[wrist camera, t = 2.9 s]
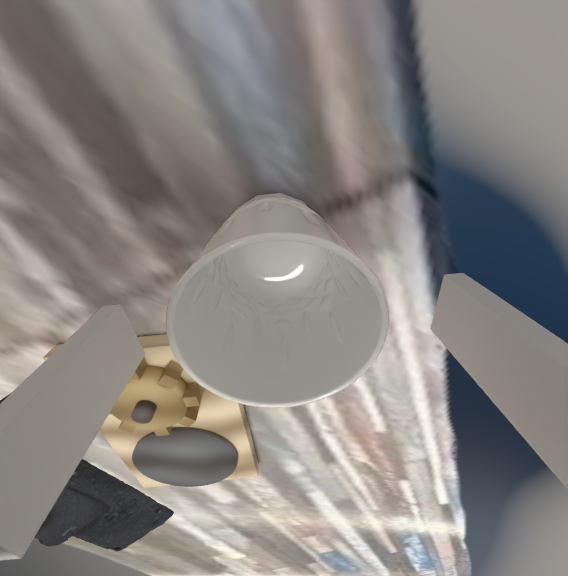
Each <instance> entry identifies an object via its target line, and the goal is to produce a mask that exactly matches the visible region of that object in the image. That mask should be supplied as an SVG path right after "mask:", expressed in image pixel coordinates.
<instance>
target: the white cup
mask: <svg viewBox="0 0 568 576" xmlns="http://www.w3.org/2000/svg"><path fill="white" fill-rule="evenodd" d="M388 326H389V309H388V303H387V299H386V296H385V293H384V290H383V288H382V286H381V284H380V282H379V280H378V279H377V277H376V276H375V274H374V273H373V272H372V271H371V269H370V268H369V267H368V266H367V265H366V264H365V263H364V262H363V261H362V260H361V259H360V258H359V256H358V255H357V254H356V253H355V252H354V251H353V250H352V249H351V248H350V247H349V246H348V245H347V244H346V243H345V241H344V240H343V239H342V238H341V237H340V236H339V235H338V234H337V233H336V232H335V231H334V230H333V229H332V228H331V227H330V225H329V224H328V223H327V222H326V221H325V220H323V219H322V218H321V217H320V216H319V215H318V214H317V213H316V212H314V211H313V210H312V209H310V208H309V207H308V206H307V205H306V204H305V203H304V202H303V201H301V200H298V199H296V198H293V197H290V196H288V195H285V194H282V193H274V194H265V195H257V196H255V197H254V198H252V199H251V200H249V201H247V202H246V203H244V204H243V205H241V206H240V207H238V208H237V209H236V211H235V212H234V213H233V214H232V215H231V216H230V217H229V218H228V219H227V220H226V221H225V222H224V224H223V225H222V226H221V227H220V228H219V229H218V230H217V232H216V233H215V234H214V235H213V237H212V238H211V239H210V241H209V242H208V243H207V245H206V246H205V247H204V249H203V250H202V251H201V253H200V254H199V255H198V257H197V258H196V259H195V261H194V262H193V263H192V264H191V266H190V267H189V268H188V270H187V271H186V272H185V273H184V275H183V276H182V277H181V279H180V280H179V282H178V283H177V285H176V287H175V289H174V291H173V293H172V295H171V298H170V300H169V304H168V308H167V314H166V332H167V337H168V341H169V345H170V347H171V350H172V352H173V354H174V356H175V358H176V360H177V361H178V363H179V364H180V366H181V367H182V368H183V370H184V371H185V372H186V373H187V374H188V375H189V376H190V377H191V378H192V379H193V380H194V381H196V382H197V383H198V384H199V385H201V386H202V387H204V388H205V389H207V390H208V391H210V392H212V393H214V394H216V395H218V396H220V397H222V398H225V399H227V400H230V401H233V402H237V403H240V404H244V405H249V406H256V407H267V408H281V407H292V406H299V405H304V404H308V403H312V402H315V401H319V400H321V399H324V398H327V397H329V396H331V395H333V394H335V393H337V392H339V391H341V390H343V389H344V388H346V387H348V386H349V385H350V384H352V383H353V382H355V381H356V380H357V379H358V378H359V377H361V376H362V375H363V374H364V373H365V372H366V371H367V370H368V368H369V367H370V366H371V365H372V364H373V362H374V361H375V359H376V358H377V356H378V355H379V353H380V351H381V349H382V347H383V345H384V342H385V339H386V336H387V332H388Z"/></svg>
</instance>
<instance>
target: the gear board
mask: <svg viewBox="0 0 568 576" xmlns="http://www.w3.org/2000/svg"><path fill="white" fill-rule="evenodd" d="M137 338H138V340H139V342H140V344H141V346H142V348H143V350H144V352H145V356H144V357H143V359H142V361H141V362H140V364H139V366H138V367H137V369H136V371H135V372H134V374H133V376H132V377H131V379H130V381H129V382H128V384H127V385H126V387H125V389H124V390H123V392H122V394H121V395H120V397H119V399H118V400H117V402H116V404H115V405H114V407H113V408H112V410H111V412H110V413H109V415H108V417H107V418H106V420H105V422H104V423H103V425H102V427H101V428H100V432H101V433H102V434H103V436H104V437H105V438H106V439H107V441H108V442H109V443H110V445H111V446H112V447H113V448H114V450H115V451H116V452H117V454H118V455H119V456H120V457H121V459H122V460H123V461H124V463H125V464H126V465H127V466H128V468H129V469H130V470H131V472H132V473H133V474H134V476H135V477H136V478H137V479H138V481H139V482H140V483H141V485H142V486H143V487H144V488H148V487H158V486H168V485H174V486H186V487H193V486H204V485H209V484H213V483H216V482H219V481H221V480H229V479H239V478H250V477H258V469H259V462H258V459H257V455H256V451H255V447H254V443H253V439H252V435H251V432H250V428H249V424H248V420H247V416H246V412H245V409H244V405H243V404H240V403H237V402H233V401H230V400H227V399H225V398H222V397H220V396H218V395H216V394H214V393H212V392H210V391H208V390H207V389H205V388H204V387H202V386H201V385H199V384H198V383H197V382H196V381H194V380H193V379H192V378H191V377H190V376H189V375H188V374H187V373H186V372H185V371H184V370H183V368H182V367H181V366H180V364H179V363H178V361H177V360H176V358H175V356H174V354H173V352H172V350H171V347H170V345H169V341H168V337H167V334H161V335H150V336H140V337H137ZM62 345H63V344H58V345H56V346H55V347H54V348H53V349H52V350H51V351H50V352H49V353H48V354H47V355H46V356H44V357H43V358H44V360H45V361H46V360H47V359H48V358H49V357H50V356H51V355H52V354H53V353H54V352H55V351H56V350H57V349H58V348H59V347H60V346H62Z"/></svg>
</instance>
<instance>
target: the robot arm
mask: <svg viewBox="0 0 568 576" xmlns="http://www.w3.org/2000/svg"><path fill="white" fill-rule="evenodd" d="M431 330H432V331H433V332H434V333H435V335H436V336H437V337H438V338H439V339H440V340H441V342H442V343H443V344H444V345H445V346H446V347H447V349H448V350H449V351H450V352H451V353H452V354H453V356H454V357H455V358H456V359H457V360H458V361H459V363H461V365H462V366H463V367H464V369H466V371H467V372H468V373H469V374H470V376H471V377H472V378H473V379H474V380H475V381H476V382H477V384H478V385H479V386H480V387H481V388H482V389H483V391H484V392H485V393H486V394H487V395H488V397H489V398H490V399H491V400H492V401H493V402H494V404H495V405H496V406H497V407H498V408H499V409H500V411H501V412H502V413H503V414H504V415H505V416H506V418H507V419H508V420H509V421H510V422H511V423H512V425H513V426H514V427H515V428H516V429H517V430H518V432H519V433H520V434H521V435H522V436H523V438H524V439H525V440H526V441H527V442H528V443H529V444H530V445H531V447H532V448H533V449H534V450H535V452H536V453H537V454H538V455H539V456H540V457H541V459H542V460H543V461H544V462H545V463H546V464H547V466H548V467H549V468H550V469H551V470H552V471H553V473H554V474H555V475H556V476H557V477H558V478H559V480H560V481H561V482H562V483H563V484H564V485H565V487H566V488H567V489H568V341H563V340H561V339H560V338H558V337H557V336H556V335H554V334H553V333H551V332H550V331H548V330H547V329H545V328H544V327H542V326H541V325H539V324H538V323H536V322H535V321H533V320H532V319H530V318H529V317H527V316H526V315H524V314H523V313H522V312H520V311H519V310H517V309H515V308H514V307H512V306H511V305H510V304H508V303H507V302H505V301H504V300H502V299H501V298H499V297H498V296H496V295H495V294H493V293H492V292H490V291H489V290H487V289H486V288H485V287H483V286H482V285H480V284H478V283H477V282H476V281H474V280H473V279H471V278H470V277H468V276H467V275H465V274H464V273H459V274H448V275H444V278H443V281H442V285H441V289H440V293H439V297H438V301H437V305H436V309H435V313H434V317H433V321H432V325H431ZM144 356H145V352H144V350H143V348H142V346H141V344H140V342H139V340H138V338H137V336H136V333H135V331H134V329H133V327H132V325H131V323H130V321H129V319H128V317H127V315H126V313H125V310H124V308H123V306H122V304H120V305H109V306H103V307H101V308H100V309H99V310H98V311H97V312H96V313H95V314H94V315H93V316H92V317H91V318H90V319H89V320H88V321H87V322H86V323H85V324H84V325H83V326H81V327H80V328H79V329H78V330H77V331H76V332H75V333H74V334H73V335H72V336H71V337H70V338H69V339H68V340H67V341H66V342H65V343H64V344H63V345H62V346H60V347H59V348H58V349H57V350H56V351H55V352H54V353H53V354H52V355H51V356H50V357H49V358H48V359H47V360H46V361H45V362H44V363H43V364H42V365H40V366H39V367H38V368H37V369H36V370H35V371H34V372H33V373H32V374H31V375H30V376H29V377H28V378H27V379H26V380H25V381H24V382H23V383H22V384H20V385H19V386H18V387H17V388H16V389H15V390H14V391H13V392H12V393H11V394H9V395H8V396H6V397H5V398H3V399H2V400H0V560H7V559H20V558H22V556H23V555H24V553H25V552H26V550H27V548H28V546H29V545H30V543H31V541H32V540H33V538H34V537H35V535H36V533H37V532H38V530H39V529H40V527H41V525H42V524H43V522H44V520H45V519H46V517H47V515H48V514H49V512H50V510H51V509H52V507H53V505H54V504H55V502H56V501H57V499H58V497H59V496H60V494H61V492H62V491H63V489H64V487H65V486H66V484H67V482H68V481H69V479H70V478H71V476H72V474H73V473H74V471H75V469H76V468H77V466H78V464H79V463H80V461H81V459H82V458H83V456H84V455H85V453H86V451H87V450H88V448H89V446H90V445H91V443H92V441H93V440H94V438H95V436H96V435H97V433H98V431H99V430H100V428H101V427H102V425H103V423H104V422H105V420H106V418H107V417H108V415H109V413H110V412H111V410H112V408H113V407H114V405H115V404H116V402H117V400H118V399H119V397H120V395H121V394H122V392H123V390H124V389H125V387H126V385H127V384H128V382H129V381H130V379H131V377H132V376H133V374H134V372H135V371H136V369H137V367H138V366H139V364H140V362H141V361H142V359H143V357H144Z"/></svg>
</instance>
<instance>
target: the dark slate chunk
mask: <svg viewBox="0 0 568 576" xmlns="http://www.w3.org/2000/svg"><path fill="white" fill-rule="evenodd" d="M173 513H174V512H173V511H172V510H170V509H169V508H167V507H166V506H164V505H161V504H159V503H157V502H156V501H155V500H153V499H152V498H150V497H148V496H146V495H145V494H143V493H142V492H140V491H139V490H137V489H135V488H133V487H132V486H130V485H128V484H125V483H124V482H123V481H120V480H119V479H117V478H115V477H113V476H111V475H109V474H108V473H106V472H104V471H102V470H100V469H98V468H97V467H95V466H93V465H91V464H90V463H88V462H87V461H85V460H83V459H81V461H80V463H79V464H78V466H77V468H76V469H75V471H74V473H73V474H72V476H71V478H70V479H69V481H68V482H67V484H66V486H65V487H64V489H63V491H62V492H61V494H60V496H59V497H58V499H57V501H56V502H55V504H54V505H53V507H52V509H51V510H50V512H49V514H48V515H47V517H46V519H45V520H44V522H43V524H42V525H41V527H40V529H39V530H38V532H37V533H36V535H35V537H34V538H37V539H39V541H40V543H41V544H44V545H46V546H54V545H59V544H61V543H62V542H64V541H66V540H68V538H70V537H72V536H74V537H76V538H80V539H82V540H84V541H87V542H89V543H93V544H95V545H97V546H100V547H103V548H105V549H112V550H114V551H120V550H122V549H124V548H126V547H128V546H129V545H130V544H132V543H134V542H135V541H137V540H139V539H140V538H142V537H143V536H145V535H146V534H147V533H148V532H150V531H151V530H153V529H155V528H157V527H159V526H161V525H162V524H164V523H165V521H166V520H168V519H169V518H170V517H171V516H172V515H173Z"/></svg>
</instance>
